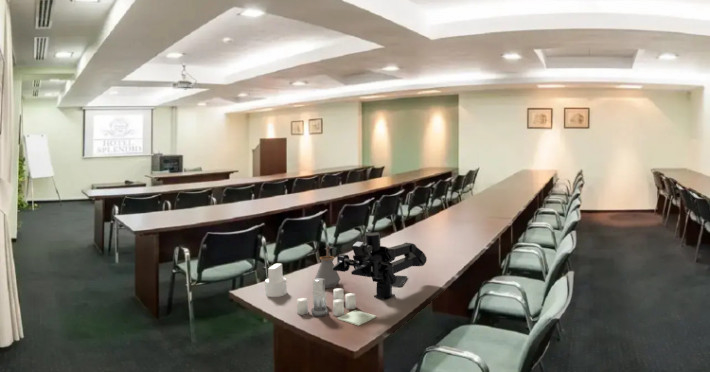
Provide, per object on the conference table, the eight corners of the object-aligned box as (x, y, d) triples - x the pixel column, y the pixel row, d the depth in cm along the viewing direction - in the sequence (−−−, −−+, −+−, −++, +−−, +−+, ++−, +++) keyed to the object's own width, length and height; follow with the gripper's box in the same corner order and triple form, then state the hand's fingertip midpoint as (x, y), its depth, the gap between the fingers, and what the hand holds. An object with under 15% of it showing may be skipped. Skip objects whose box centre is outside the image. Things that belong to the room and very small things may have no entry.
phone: (384, 284, 203) (391, 275, 217) (384, 286, 203) (391, 277, 217) (401, 285, 201) (407, 276, 215) (401, 288, 201) (407, 278, 215)
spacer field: (333, 298, 188) (332, 286, 188) (363, 306, 178) (362, 293, 177) (295, 313, 172) (294, 300, 172) (325, 322, 162) (325, 309, 162)
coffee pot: (340, 289, 200) (339, 255, 199) (313, 289, 200) (312, 256, 199) (341, 275, 221) (340, 245, 220) (317, 276, 221) (316, 245, 220)
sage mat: (355, 311, 173) (355, 309, 173) (376, 317, 166) (376, 315, 166) (337, 319, 165) (337, 317, 165) (358, 325, 159) (358, 324, 159)
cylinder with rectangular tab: (282, 297, 191) (281, 269, 190) (262, 296, 193) (261, 268, 192) (289, 290, 200) (288, 263, 198) (270, 289, 201) (269, 263, 200)
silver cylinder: (319, 309, 175) (318, 276, 174) (331, 313, 171) (330, 279, 170) (308, 314, 171) (307, 280, 169) (319, 318, 167) (318, 283, 166)
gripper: (350, 238, 185) (323, 246, 173) (387, 243, 173) (360, 253, 161) (351, 264, 186) (324, 274, 175) (388, 272, 174) (362, 283, 162)
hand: (342, 271), depth 168 cm, fingers open, 9 cm apart
